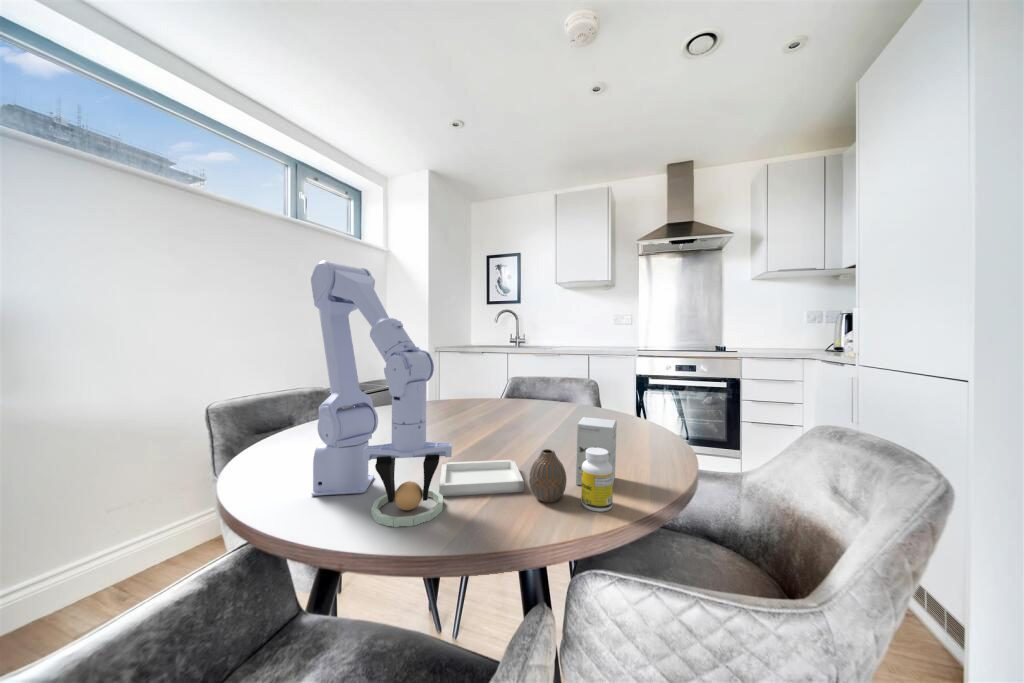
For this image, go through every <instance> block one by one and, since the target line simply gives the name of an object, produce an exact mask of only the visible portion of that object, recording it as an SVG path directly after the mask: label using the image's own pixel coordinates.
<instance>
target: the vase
mask: <svg viewBox="0 0 1024 683" xmlns="http://www.w3.org/2000/svg"><path fill="white" fill-rule="evenodd" d="M530 467H531V468H530V470H529V474H528V481H529V488H530V491H531V493H532V494H533V496H534V497H535V498H536V499H537V500H538V501H539V502H542V503H548V504H549V503H551V504H552V503H555V502H557V501H559V500H560V499H561V498H562V497H563V495H564V493H565V491H566V488H567V472H566V469H565V467H564V464H563V463H562V462H561V460H560V459H559V457H558V456H557V455H556V452H555V450H553V449H550V448H549V449H548V448H546V449H542V450H541V452H540V454H539V456H538V457H537V458H536V459H535V461H534V462H533V463H532V465H531V466H530Z"/></svg>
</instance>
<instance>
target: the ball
mask: <svg viewBox="0 0 1024 683" xmlns="http://www.w3.org/2000/svg"><path fill="white" fill-rule="evenodd" d="M395 491H396V493H395V499H394V502H395V504H396V506H397V507H398V508H399V509H400V510H403V511H412V510H414V509H416V508H417V507H418V506H419V505H420V503H422V500H423V496H422V489H421V485H420V484H419V483H417V482H415V481H412V480H410V481H405V482H403V483H401V484H400V485H399V486H398V487H397V489H395Z"/></svg>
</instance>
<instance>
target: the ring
mask: <svg viewBox="0 0 1024 683" xmlns="http://www.w3.org/2000/svg"><path fill="white" fill-rule="evenodd" d="M420 487H421V486H420ZM423 488H424V487H423V486H422V487H421V489H422V497H423ZM395 493H396V490H395ZM429 497H431V498H430V499H432V498H433V499H432V500H434V501H435V502H436V503H437V502H438V503H437V504H435V505H434V506H433V507H432V508H430V509H429V510H427V511H425V512H424V511H423V512H421V513H418V514H414V515H409V516H408V515H407V516H406V515H405V516H392V515H388V514H385V513H382V512H381V511H380V509H381V507H383V506H384V505H386V504H387V503H388V497H387V492H386V493H385V494H383V495H381V496H380V497H378V498H376V499H375V500H374V502H373V504H372V506H371V509H370V512H371V517H372V519H373V520H374V521H375V522H376V524H379V525H382V524H383V525H382V526H387V527H389V526H392V527H391V528H400V527H399V526H407V527H414V525H415V526H418V525H420V523H421V524H424V523H426V521H427V522H429V521H432V520H434V519H435V518H436V517H437V516H438V515H440V514H441V513H442V512H443V509H444V508H443V507H444V497H443V495H441V494H440V493H439V491H437V490H436V489H431V488H429V490H428V498H429ZM394 500H395V498H394ZM386 502H387V503H386ZM385 503H386V504H385ZM383 504H384V505H383ZM382 505H383V506H382ZM380 506H381V507H380ZM434 517H435V518H434ZM423 522H424V523H423ZM417 524H418V525H417ZM393 526H394V527H393Z"/></svg>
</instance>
